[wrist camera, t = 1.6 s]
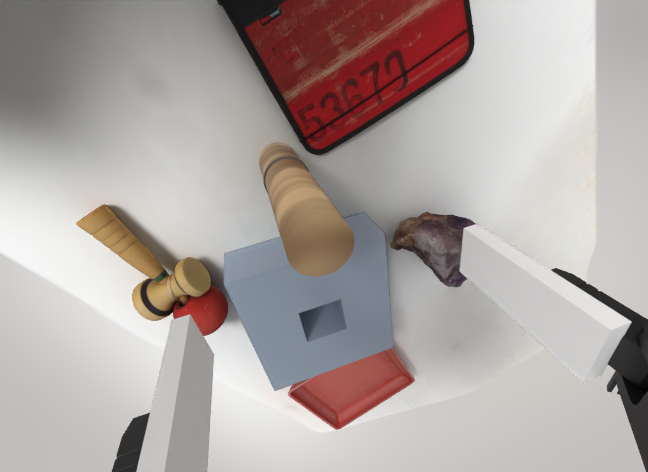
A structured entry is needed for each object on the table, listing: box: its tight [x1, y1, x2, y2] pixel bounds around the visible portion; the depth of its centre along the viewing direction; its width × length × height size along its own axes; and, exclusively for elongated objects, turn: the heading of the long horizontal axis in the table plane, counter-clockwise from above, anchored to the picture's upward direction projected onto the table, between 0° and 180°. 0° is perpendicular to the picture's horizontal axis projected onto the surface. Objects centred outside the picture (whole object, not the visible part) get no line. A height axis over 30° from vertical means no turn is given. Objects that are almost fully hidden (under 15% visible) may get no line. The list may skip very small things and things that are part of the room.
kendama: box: [77, 204, 228, 336], centre depth 32 cm, size 8×6×18 cm
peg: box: [259, 143, 355, 277], centre depth 24 cm, size 4×4×18 cm
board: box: [224, 212, 393, 391], centre depth 39 cm, size 20×18×6 cm
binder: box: [217, 0, 474, 155], centre depth 28 cm, size 16×2×21 cm
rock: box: [390, 212, 475, 287], centre depth 39 cm, size 12×9×10 cm
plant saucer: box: [288, 348, 415, 430], centre depth 53 cm, size 18×18×3 cm
